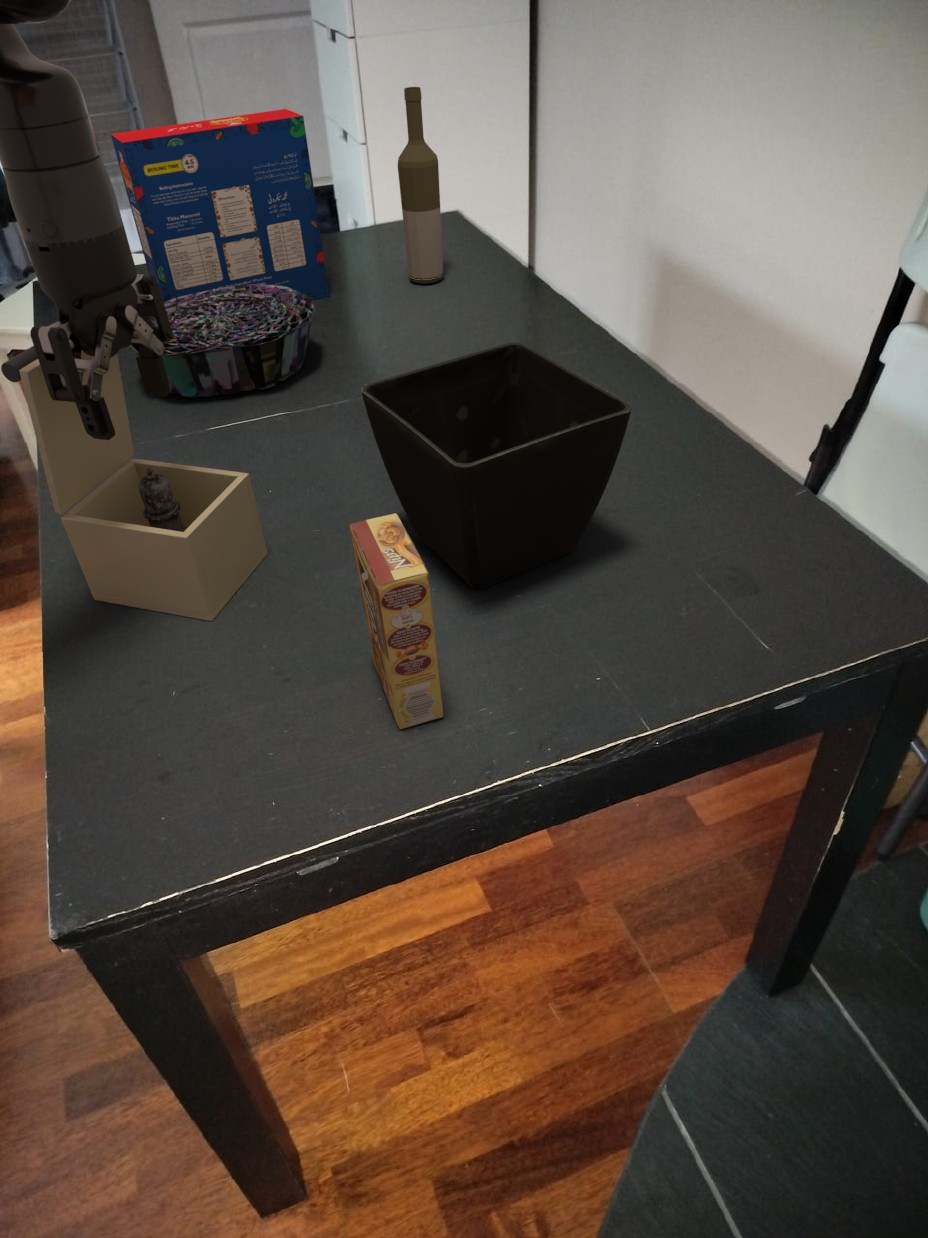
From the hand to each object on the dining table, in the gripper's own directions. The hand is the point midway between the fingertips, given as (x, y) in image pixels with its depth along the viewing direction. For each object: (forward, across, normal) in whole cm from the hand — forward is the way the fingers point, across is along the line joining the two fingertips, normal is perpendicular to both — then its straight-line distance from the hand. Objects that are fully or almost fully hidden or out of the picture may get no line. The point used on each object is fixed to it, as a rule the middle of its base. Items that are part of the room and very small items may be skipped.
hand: (132, 415), depth 77 cm
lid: (+1, 0, -5) cm, 5 cm away
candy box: (+18, +10, +28) cm, 35 cm away
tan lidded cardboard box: (+18, 0, 0) cm, 18 cm away
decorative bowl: (+18, -48, -21) cm, 55 cm away
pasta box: (+18, -72, -32) cm, 81 cm away
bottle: (+18, -91, -5) cm, 93 cm away
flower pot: (+18, -14, +30) cm, 38 cm away
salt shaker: (+18, 0, 0) cm, 18 cm away
